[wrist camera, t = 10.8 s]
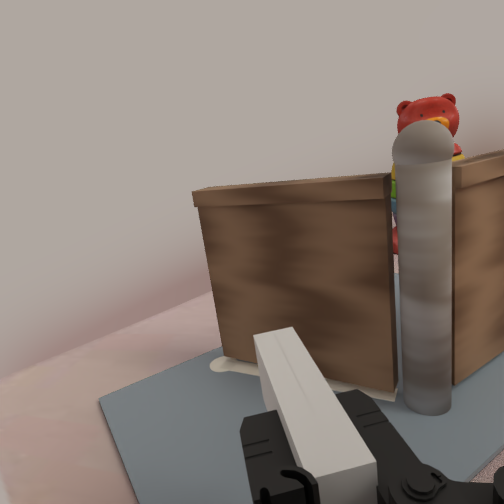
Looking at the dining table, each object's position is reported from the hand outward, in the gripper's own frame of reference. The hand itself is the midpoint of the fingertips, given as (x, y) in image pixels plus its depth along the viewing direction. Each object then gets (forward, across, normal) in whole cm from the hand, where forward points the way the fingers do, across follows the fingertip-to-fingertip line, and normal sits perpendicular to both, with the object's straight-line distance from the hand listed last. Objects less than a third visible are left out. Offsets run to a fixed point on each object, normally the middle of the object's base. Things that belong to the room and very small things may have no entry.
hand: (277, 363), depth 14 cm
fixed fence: (+7, +15, -7) cm, 18 cm away
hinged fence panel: (+9, +3, -6) cm, 11 cm away
